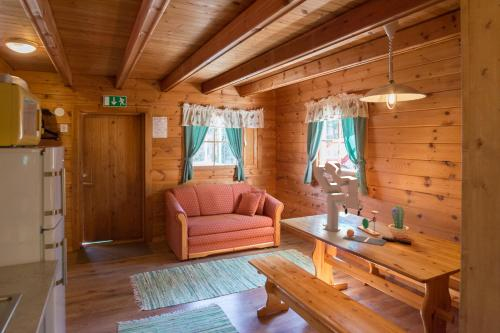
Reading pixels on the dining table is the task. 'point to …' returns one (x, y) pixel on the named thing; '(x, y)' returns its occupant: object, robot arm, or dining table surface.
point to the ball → (350, 232)
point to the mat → (365, 240)
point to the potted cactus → (398, 223)
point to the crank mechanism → (366, 224)
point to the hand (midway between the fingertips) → (352, 214)
